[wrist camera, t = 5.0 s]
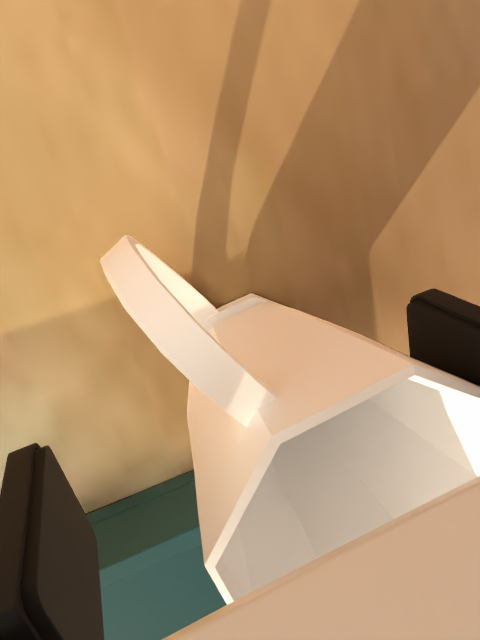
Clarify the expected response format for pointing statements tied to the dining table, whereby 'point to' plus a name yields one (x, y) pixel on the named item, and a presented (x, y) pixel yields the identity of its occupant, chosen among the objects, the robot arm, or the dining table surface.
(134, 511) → the tray
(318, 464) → the cup
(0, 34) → the dining table surface
